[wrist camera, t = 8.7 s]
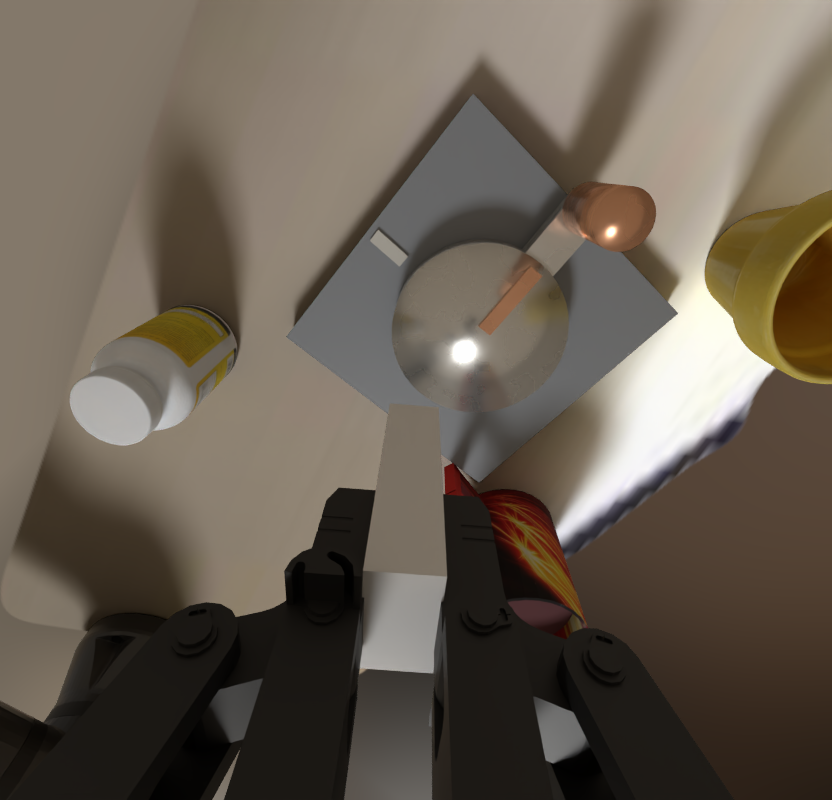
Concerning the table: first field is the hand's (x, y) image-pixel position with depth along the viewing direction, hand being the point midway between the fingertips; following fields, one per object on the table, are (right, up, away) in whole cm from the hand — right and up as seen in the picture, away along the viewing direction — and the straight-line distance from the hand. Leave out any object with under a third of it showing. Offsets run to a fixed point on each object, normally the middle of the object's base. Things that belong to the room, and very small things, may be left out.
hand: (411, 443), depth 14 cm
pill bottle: (-17, +6, +23) cm, 29 cm away
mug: (+7, -10, +30) cm, 32 cm away
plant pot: (+24, +11, +18) cm, 32 cm away
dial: (+6, +9, +18) cm, 21 cm away
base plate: (+5, +8, +21) cm, 23 cm away
